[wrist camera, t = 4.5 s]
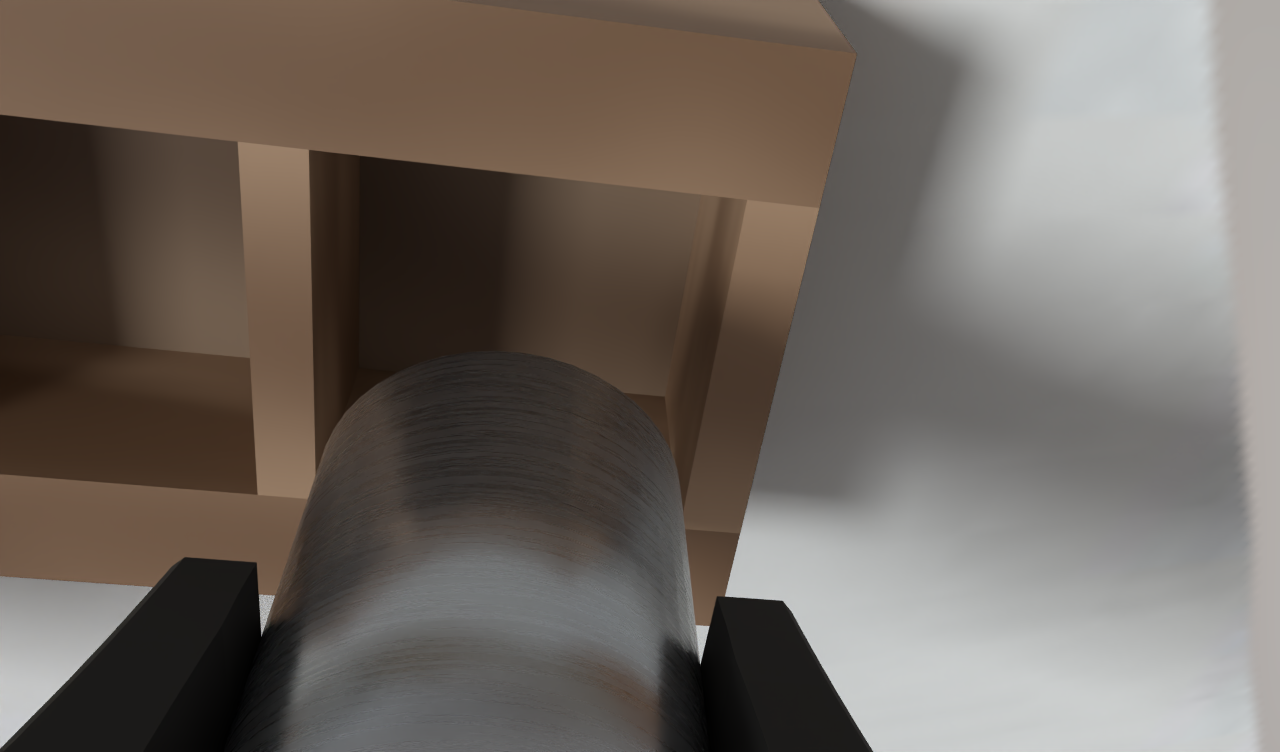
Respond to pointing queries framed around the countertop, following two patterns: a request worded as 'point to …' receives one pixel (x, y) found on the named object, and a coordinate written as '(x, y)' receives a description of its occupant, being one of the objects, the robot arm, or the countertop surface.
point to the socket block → (382, 244)
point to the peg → (484, 576)
